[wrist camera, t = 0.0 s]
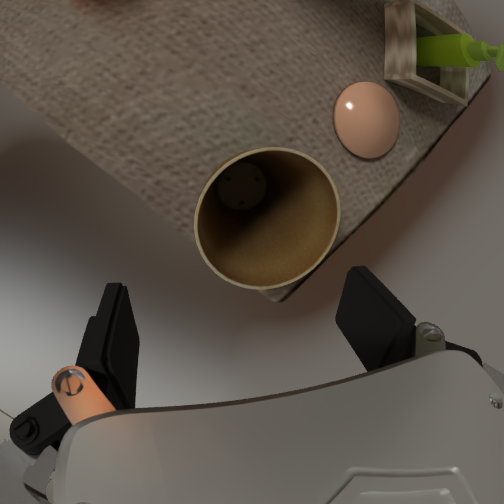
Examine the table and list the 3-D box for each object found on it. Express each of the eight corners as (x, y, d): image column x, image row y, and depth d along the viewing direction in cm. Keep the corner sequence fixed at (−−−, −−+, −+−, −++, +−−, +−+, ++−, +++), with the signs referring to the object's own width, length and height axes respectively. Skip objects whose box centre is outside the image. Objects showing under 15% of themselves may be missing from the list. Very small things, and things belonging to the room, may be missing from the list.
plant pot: (302, 205, 45) (353, 251, 31) (217, 245, 45) (234, 310, 31) (269, 118, 37) (317, 124, 23) (173, 162, 37) (165, 192, 23)
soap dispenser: (401, 54, 35) (491, 52, 17) (413, 32, 32) (498, 26, 15) (420, 75, 37) (508, 83, 20) (431, 53, 35) (514, 56, 18)
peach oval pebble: (335, 74, 35) (339, 73, 34) (398, 92, 38) (402, 92, 37) (328, 152, 41) (332, 153, 40) (390, 160, 44) (394, 162, 43)
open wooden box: (384, 4, 29) (409, -4, 23) (442, 35, 33) (466, 34, 27) (383, 79, 37) (411, 79, 31) (441, 102, 40) (467, 106, 34)
